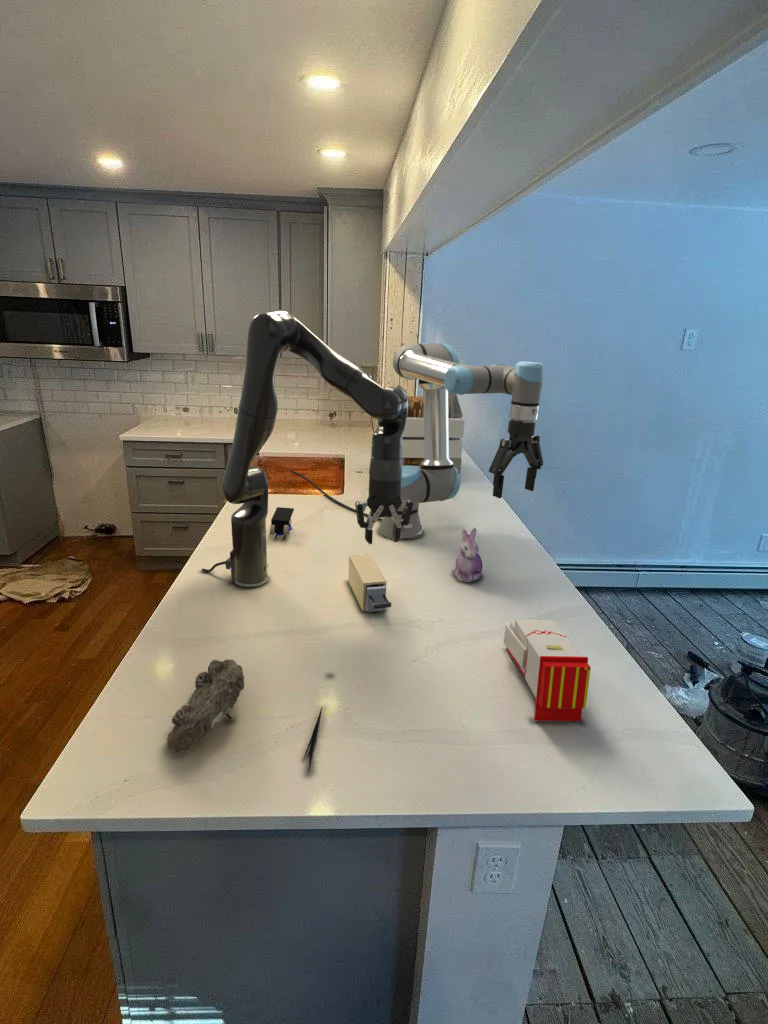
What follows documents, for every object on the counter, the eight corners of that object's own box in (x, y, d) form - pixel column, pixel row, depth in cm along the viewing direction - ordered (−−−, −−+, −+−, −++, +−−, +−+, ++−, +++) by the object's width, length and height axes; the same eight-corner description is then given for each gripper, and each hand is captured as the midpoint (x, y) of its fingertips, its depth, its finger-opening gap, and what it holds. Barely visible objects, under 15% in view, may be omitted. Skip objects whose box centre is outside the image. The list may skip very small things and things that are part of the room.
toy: (549, 604, 136) (599, 663, 106) (544, 656, 138) (591, 727, 109) (499, 603, 135) (535, 662, 106) (495, 655, 138) (529, 726, 109)
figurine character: (289, 545, 189) (295, 524, 202) (288, 525, 186) (294, 505, 199) (269, 545, 189) (276, 524, 202) (268, 525, 185) (275, 505, 199)
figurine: (465, 585, 164) (469, 538, 159) (445, 571, 172) (449, 525, 167) (491, 580, 168) (496, 533, 163) (471, 566, 176) (475, 521, 171)
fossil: (192, 660, 117) (244, 628, 112) (224, 691, 120) (276, 661, 115) (142, 746, 98) (202, 712, 93) (182, 779, 101) (242, 748, 96)
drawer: (391, 621, 142) (392, 598, 140) (372, 623, 141) (373, 600, 139) (369, 582, 162) (370, 561, 160) (352, 583, 161) (353, 562, 159)
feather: (331, 679, 122) (336, 673, 122) (307, 777, 96) (313, 769, 95) (324, 675, 122) (329, 669, 121) (298, 772, 95) (304, 764, 95)
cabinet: (385, 609, 150) (386, 581, 147) (362, 611, 148) (363, 583, 145) (368, 579, 165) (369, 554, 162) (348, 581, 164) (349, 555, 161)
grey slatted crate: (382, 463, 289) (386, 382, 275) (445, 464, 293) (451, 384, 279) (390, 482, 257) (394, 392, 243) (460, 483, 261) (468, 394, 247)
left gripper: (359, 481, 126) (357, 550, 132) (420, 478, 130) (415, 546, 136) (351, 471, 133) (350, 538, 139) (409, 469, 137) (405, 534, 143)
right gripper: (501, 426, 146) (492, 503, 153) (562, 419, 160) (551, 490, 168) (481, 421, 152) (473, 496, 159) (541, 414, 166) (531, 483, 173)
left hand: (382, 541), depth 137 cm, fingers open, 5 cm apart
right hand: (513, 493), depth 163 cm, fingers open, 13 cm apart
